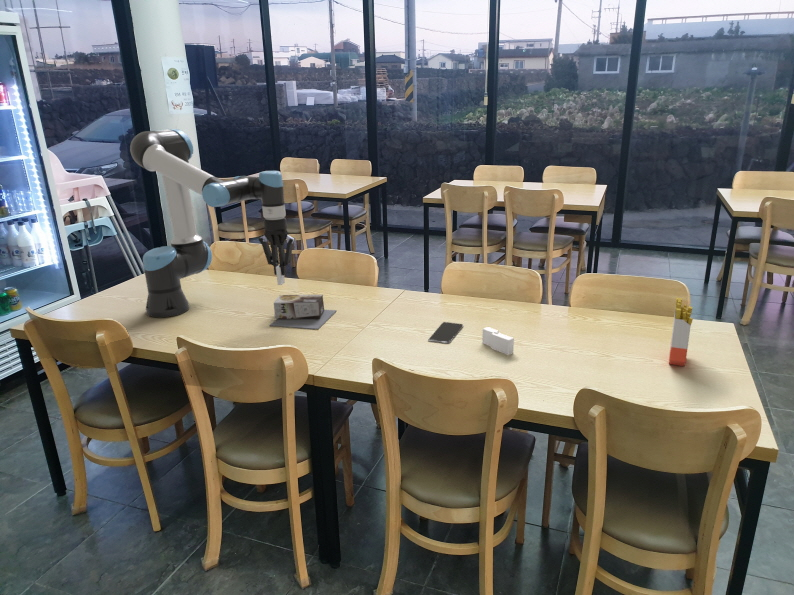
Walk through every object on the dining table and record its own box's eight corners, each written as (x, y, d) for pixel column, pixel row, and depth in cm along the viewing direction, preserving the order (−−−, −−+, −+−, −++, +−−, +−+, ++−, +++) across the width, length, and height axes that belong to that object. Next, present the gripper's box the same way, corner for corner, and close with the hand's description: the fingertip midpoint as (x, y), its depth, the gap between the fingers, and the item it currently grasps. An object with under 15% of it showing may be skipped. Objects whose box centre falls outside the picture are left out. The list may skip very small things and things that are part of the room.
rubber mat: (269, 326, 211) (269, 324, 211) (291, 308, 227) (291, 307, 227) (318, 329, 206) (318, 328, 206) (336, 311, 223) (336, 310, 223)
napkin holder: (521, 357, 182) (522, 340, 180) (483, 359, 182) (483, 341, 180) (510, 338, 196) (511, 321, 194) (475, 339, 196) (476, 323, 194)
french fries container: (686, 355, 179) (694, 297, 173) (686, 370, 170) (694, 309, 164) (669, 352, 181) (676, 295, 175) (668, 367, 172) (675, 307, 166)
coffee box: (274, 319, 215) (320, 319, 214) (273, 302, 213) (318, 302, 212) (281, 311, 224) (324, 310, 223) (279, 294, 222) (323, 294, 221)
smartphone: (427, 339, 194) (443, 321, 208) (427, 342, 195) (443, 324, 209) (449, 342, 192) (463, 323, 206) (449, 345, 192) (463, 326, 206)
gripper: (252, 219, 205) (259, 286, 213) (287, 220, 202) (293, 288, 210) (262, 215, 212) (269, 279, 220) (296, 215, 209) (302, 281, 216)
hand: (281, 283), depth 215 cm, fingers closed
